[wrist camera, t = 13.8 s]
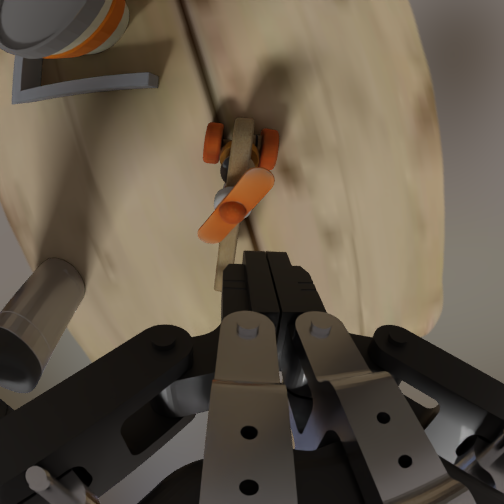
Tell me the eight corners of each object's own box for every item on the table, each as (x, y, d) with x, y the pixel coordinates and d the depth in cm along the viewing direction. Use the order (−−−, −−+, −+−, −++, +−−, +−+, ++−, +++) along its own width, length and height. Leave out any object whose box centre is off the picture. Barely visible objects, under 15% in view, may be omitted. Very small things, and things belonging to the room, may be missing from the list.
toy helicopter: (276, 121, 36) (303, 129, 23) (252, 269, 45) (262, 332, 32) (210, 112, 35) (201, 115, 22) (195, 263, 44) (185, 327, 31)
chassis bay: (175, -46, 24) (168, -65, 18) (157, 87, 32) (146, 85, 27) (49, -21, 22) (29, -32, 16) (32, 102, 30) (8, 104, 25)
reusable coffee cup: (64, 82, 30) (-6, 81, 17) (52, 8, 24) (-11, -15, 11) (151, 45, 30) (108, 15, 16) (135, -30, 24) (96, -80, 11)
